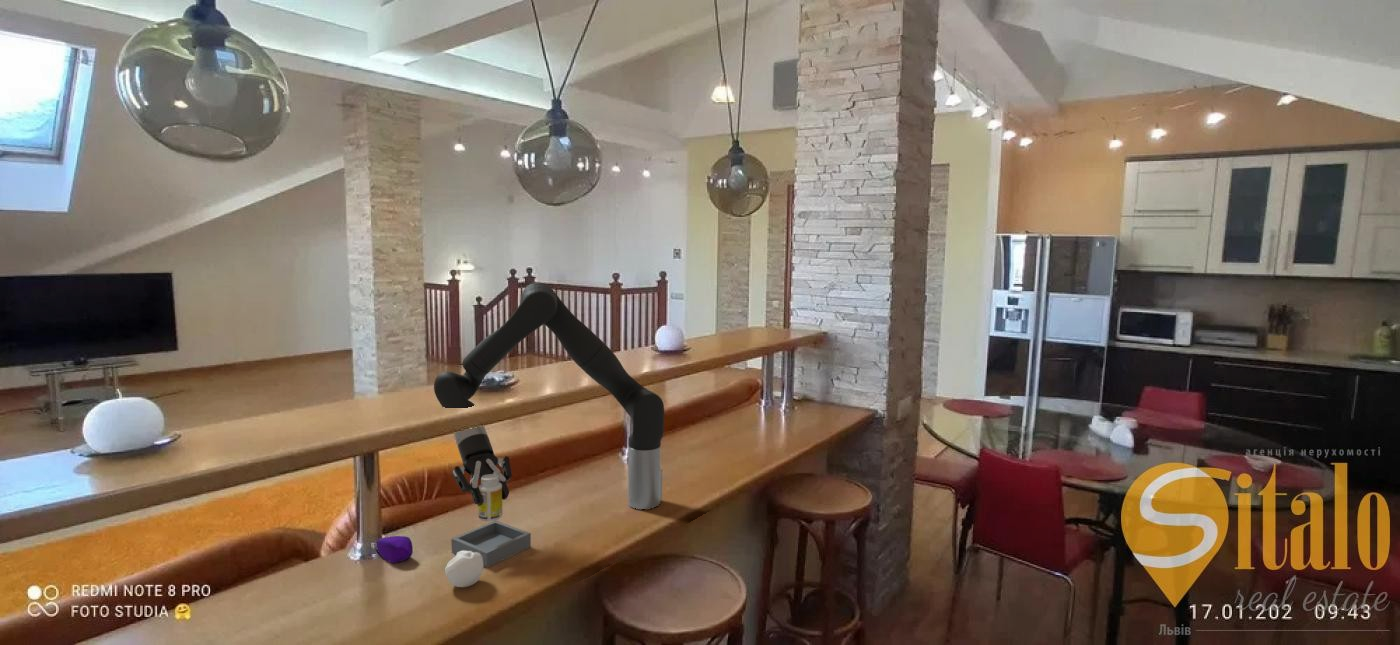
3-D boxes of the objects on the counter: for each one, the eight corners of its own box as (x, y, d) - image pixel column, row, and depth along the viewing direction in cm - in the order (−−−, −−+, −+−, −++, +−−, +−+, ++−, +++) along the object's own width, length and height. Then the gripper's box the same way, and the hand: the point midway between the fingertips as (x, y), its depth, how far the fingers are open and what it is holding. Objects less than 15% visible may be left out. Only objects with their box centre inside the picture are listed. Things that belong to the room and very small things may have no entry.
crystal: (383, 528, 159) (418, 538, 151) (385, 548, 160) (420, 559, 151) (364, 535, 155) (399, 546, 147) (366, 555, 156) (401, 567, 147)
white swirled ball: (472, 572, 146) (471, 539, 145) (491, 583, 141) (491, 550, 141) (439, 586, 140) (438, 552, 139) (457, 598, 135) (456, 563, 134)
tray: (496, 533, 166) (495, 520, 166) (530, 546, 159) (530, 533, 159) (451, 552, 156) (451, 538, 155) (486, 567, 148) (486, 553, 148)
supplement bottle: (504, 512, 160) (504, 472, 158) (499, 522, 154) (499, 480, 153) (481, 513, 159) (480, 472, 158) (475, 522, 153) (475, 481, 152)
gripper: (447, 437, 155) (467, 501, 148) (504, 428, 165) (526, 487, 157) (440, 453, 160) (459, 516, 152) (495, 443, 169) (516, 501, 162)
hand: (493, 500), depth 155 cm, fingers closed on supplement bottle, 5 cm apart
